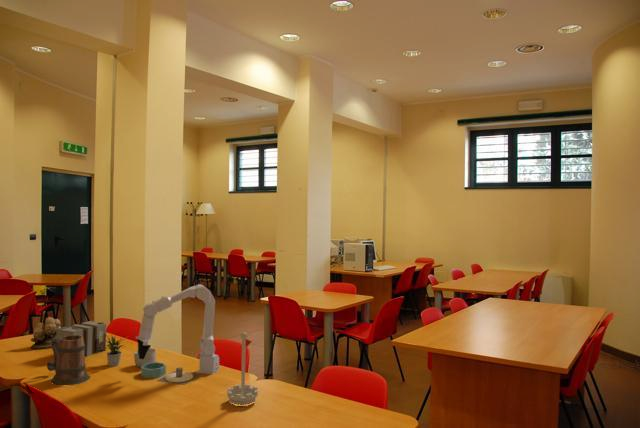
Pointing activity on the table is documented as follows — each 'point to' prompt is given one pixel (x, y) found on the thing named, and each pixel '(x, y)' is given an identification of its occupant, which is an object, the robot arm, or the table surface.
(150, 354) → the teacup
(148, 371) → the bowl
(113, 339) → the house plant
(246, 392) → the flag stand
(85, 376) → the tankard
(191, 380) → the mat
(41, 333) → the beige lumpy cluster
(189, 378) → the lid
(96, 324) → the bookend
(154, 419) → the table surface
